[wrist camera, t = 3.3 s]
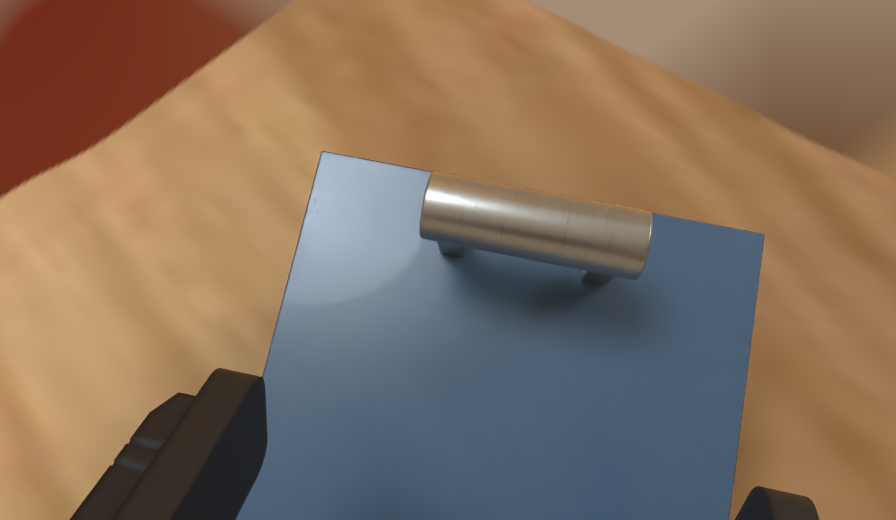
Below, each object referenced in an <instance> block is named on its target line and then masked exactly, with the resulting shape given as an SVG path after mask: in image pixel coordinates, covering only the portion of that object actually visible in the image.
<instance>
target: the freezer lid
mask: <svg viewBox="0 0 896 520" xmlns="http://www.w3.org/2000/svg"><path fill="white" fill-rule="evenodd" d="M763 244H764V234H761V233H756V232H751V231H745V230H740V229H735V228H729V227H724V226H719V225H713V224H708V223H703V222H697V221H692V220H687V219H681V218H676V217H671V216H665V215H660V214H655V213H651V212H650V211H648V210H643V209H637V208H632V207H627V206H621V205H616V204H611V203H605V202H600V201H595V200H589V199H584V198H579V197H573V196H568V195H563V194H557V193H552V192H547V191H541V190H536V189H531V188H525V187H520V186H515V185H510V184H504V183H499V182H494V181H488V180H483V179H478V178H472V177H467V176H462V175H456V174H451V173H446V172H440V171H433V172H431V171H426V170H421V169H416V168H410V167H405V166H400V165H394V164H389V163H384V162H378V161H373V160H368V159H362V158H357V157H352V156H346V155H341V154H336V153H330V152H325V151H322V152H321V155H320V159H319V163H318V167H317V170H316V174H315V178H314V182H313V186H312V190H311V193H310V197H309V201H308V205H307V209H306V212H305V216H304V220H303V224H302V228H301V231H300V235H299V239H298V243H297V247H296V251H295V254H294V258H293V262H292V266H291V270H290V273H289V277H288V281H287V285H286V289H285V292H284V296H283V300H282V304H281V308H280V312H279V315H278V319H277V323H276V327H275V331H274V334H273V338H272V342H271V346H270V350H269V353H268V357H267V361H266V365H265V369H264V372H263V376H262V378H263V379H264V382H265V393H266V414H267V436H268V440H267V449H266V454H265V458H264V461H263V464H262V467H261V470H260V472H259V475H258V477H257V479H256V481H255V483H254V485H253V487H252V488H251V490H250V492H249V494H248V496H247V498H246V500H245V502H244V504H243V506H242V508H241V510H240V512H239V514H238V516H237V518H236V520H729V514H730V506H731V498H732V490H733V482H734V474H735V466H736V459H737V451H738V443H739V435H740V427H741V419H742V411H743V403H744V395H745V387H746V379H747V371H748V363H749V355H750V347H751V339H752V331H753V323H754V315H755V307H756V299H757V291H758V283H759V276H760V268H761V260H762V252H763Z"/></svg>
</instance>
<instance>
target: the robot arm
mask: <svg viewBox="0 0 896 520" xmlns="http://www.w3.org/2000/svg"><path fill="white" fill-rule="evenodd" d="M267 440H268V436H267V414H266V393H265V382H264V379H263V378H262V377H259V376H254V375H250V374H245V373H240V372H236V371H231V370H227V369H222V368H218V369H216V370H215V371H214V372H213V373H212V374H211V375H210V376H209V378H208V379H207V381H206V382H205V384H204V385H203V387H202V388H201V389H200V391H199V392H198V394H197V395H196V396H193V395H188V394H183V393H177V394H176V395H174V396H173V397H171V398H170V399H169V400H167V401H166V402H164V403H163V404H161V405H160V406H158V407H157V408H155V409H154V410H153V411H151V412H150V413H149V414H148V416H147V417H146V418H145V420H144V421H143V422H142V424H141V425H140V426H139V428H138V429H137V430H136V432H135V433H134V434H133V436H132V437H131V438H130V442H129V444H126V445H125V446H124V448H123V449H122V450H121V452H120V453H119V454H118V456H117V457H116V458H115V460H114V464H113V465H112V466H109V468H108V469H107V470H106V472H105V473H104V474H103V476H102V477H101V478H100V480H99V481H98V482H97V484H96V485H95V486H94V488H93V489H92V490H91V492H90V493H89V494H88V496H87V497H86V498H85V500H84V501H83V502H82V504H81V505H80V506H79V508H78V509H77V510H76V512H75V513H74V514H73V516H72V517H71V519H70V520H236V518H237V516H238V514H239V512H240V510H241V508H242V506H243V504H244V502H245V500H246V498H247V496H248V494H249V492H250V490H251V488H252V487H253V485H254V483H255V481H256V479H257V477H258V475H259V472H260V470H261V467H262V464H263V461H264V458H265V454H266V449H267ZM735 520H819V517H818V514H817V511H816V508H815V506H814V504H813V502H812V501H811V500H810V499H809V498H808V497H805V496H800V495H796V494H791V493H787V492H782V491H777V490H773V489H768V488H764V487H759V486H758V487H755V488H753V490H752V491H751V492H750V494H749V495H748V497H747V499H746V501H745V503H744V504H743V506H742V508H741V510H740V512H739V513H738V515H737V517H736V519H735Z"/></svg>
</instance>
